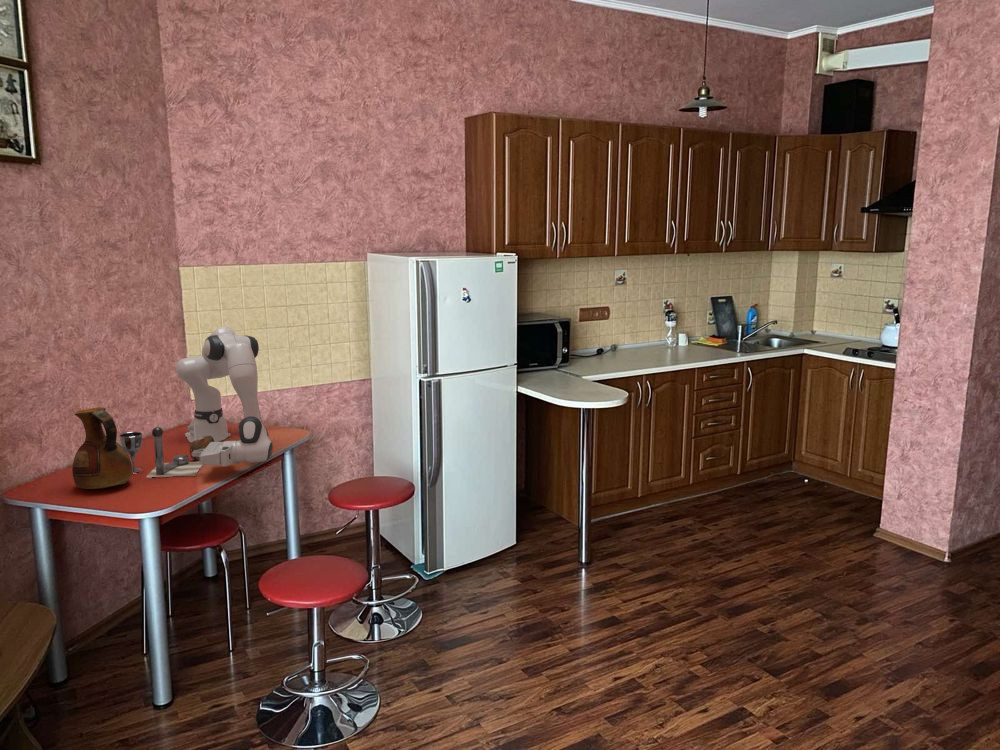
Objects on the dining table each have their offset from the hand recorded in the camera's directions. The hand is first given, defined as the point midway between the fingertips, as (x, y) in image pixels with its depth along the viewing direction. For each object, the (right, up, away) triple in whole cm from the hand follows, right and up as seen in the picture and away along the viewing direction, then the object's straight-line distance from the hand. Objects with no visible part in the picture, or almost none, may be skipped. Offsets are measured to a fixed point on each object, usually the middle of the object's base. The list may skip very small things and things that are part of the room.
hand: (192, 453), depth 299 cm
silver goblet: (-26, -8, +6) cm, 27 cm away
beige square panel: (-9, -7, +7) cm, 14 cm away
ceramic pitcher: (-28, -11, -13) cm, 33 cm away
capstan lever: (-11, -6, +7) cm, 15 cm away
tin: (-6, -4, +25) cm, 26 cm away
